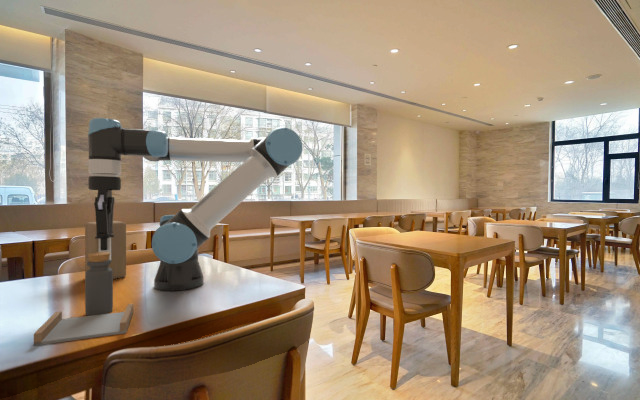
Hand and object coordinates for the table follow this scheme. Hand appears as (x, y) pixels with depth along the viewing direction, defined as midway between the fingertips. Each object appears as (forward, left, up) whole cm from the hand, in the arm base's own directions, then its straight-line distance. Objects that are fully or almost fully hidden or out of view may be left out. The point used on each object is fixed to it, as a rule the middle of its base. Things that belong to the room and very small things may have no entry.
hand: (104, 261), depth 92 cm
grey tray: (0, +19, -12) cm, 22 cm away
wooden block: (+5, -31, -12) cm, 33 cm away
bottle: (0, +8, -12) cm, 14 cm away
